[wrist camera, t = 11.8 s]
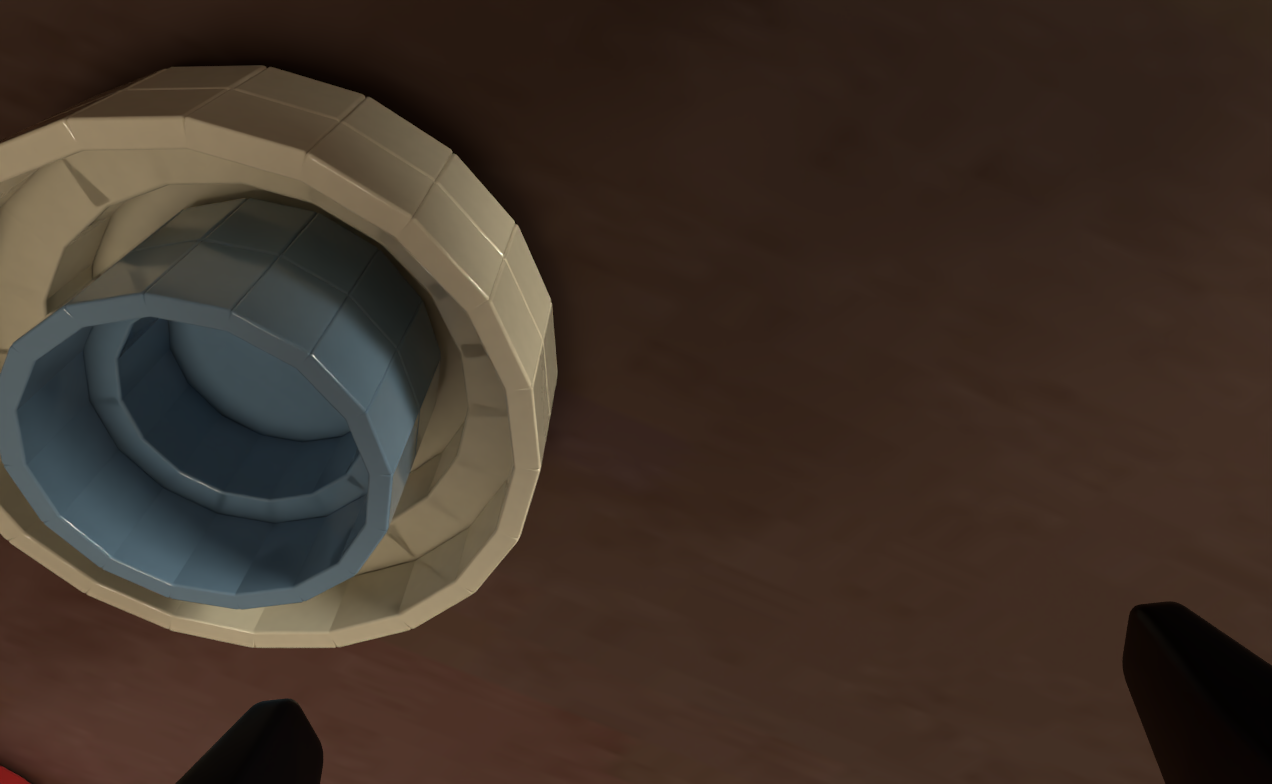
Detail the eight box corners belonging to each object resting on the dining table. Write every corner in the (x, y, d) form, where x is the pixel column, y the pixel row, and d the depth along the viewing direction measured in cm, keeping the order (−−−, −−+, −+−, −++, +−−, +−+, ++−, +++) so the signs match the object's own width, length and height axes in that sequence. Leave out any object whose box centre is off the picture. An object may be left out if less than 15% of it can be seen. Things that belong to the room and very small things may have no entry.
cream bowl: (122, -77, 17) (-24, -50, 13) (660, 274, 20) (661, 369, 17) (-34, 382, 22) (-166, 489, 19) (411, 594, 26) (372, 717, 22)
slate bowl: (195, 124, 18) (55, 215, 14) (500, 306, 20) (458, 434, 16) (91, 370, 21) (-49, 505, 17) (363, 506, 23) (298, 655, 19)
